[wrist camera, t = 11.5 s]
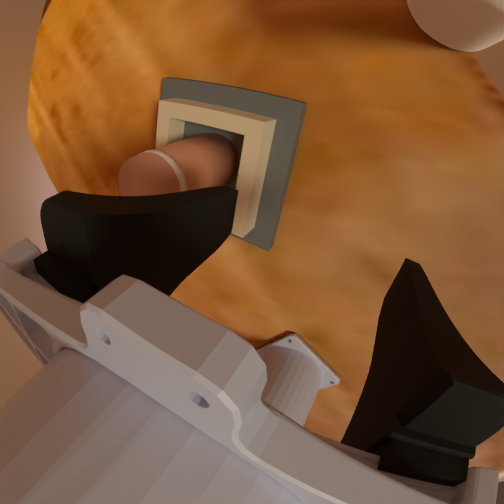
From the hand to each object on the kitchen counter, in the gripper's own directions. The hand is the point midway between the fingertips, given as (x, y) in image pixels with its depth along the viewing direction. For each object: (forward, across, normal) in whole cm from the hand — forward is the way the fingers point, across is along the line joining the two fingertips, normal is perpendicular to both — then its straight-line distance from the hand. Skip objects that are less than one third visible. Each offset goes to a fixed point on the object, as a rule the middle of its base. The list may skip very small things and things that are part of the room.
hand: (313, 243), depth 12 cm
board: (+10, +10, +2) cm, 15 cm away
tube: (+10, +10, +2) cm, 14 cm away
